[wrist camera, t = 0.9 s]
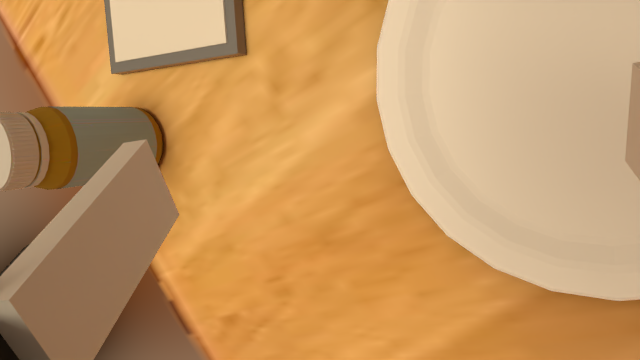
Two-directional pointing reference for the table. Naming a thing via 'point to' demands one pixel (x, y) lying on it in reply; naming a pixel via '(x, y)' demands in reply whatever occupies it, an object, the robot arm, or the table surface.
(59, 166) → the bottle
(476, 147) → the plate
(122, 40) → the clipboard
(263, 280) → the table surface
